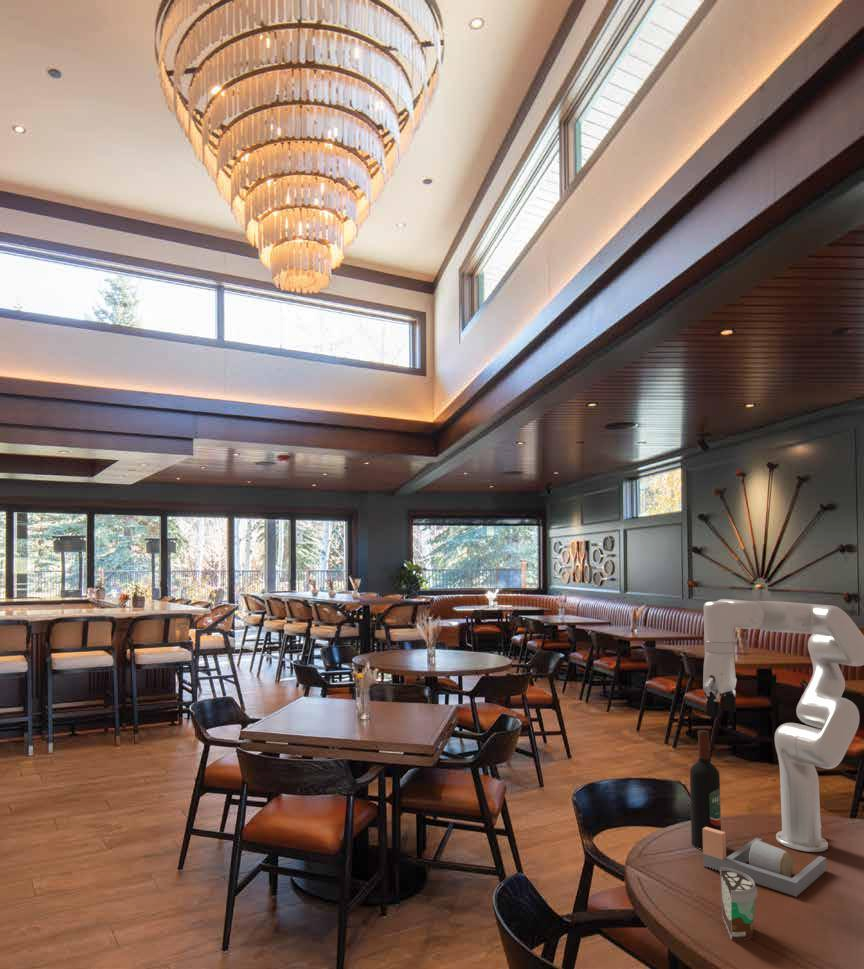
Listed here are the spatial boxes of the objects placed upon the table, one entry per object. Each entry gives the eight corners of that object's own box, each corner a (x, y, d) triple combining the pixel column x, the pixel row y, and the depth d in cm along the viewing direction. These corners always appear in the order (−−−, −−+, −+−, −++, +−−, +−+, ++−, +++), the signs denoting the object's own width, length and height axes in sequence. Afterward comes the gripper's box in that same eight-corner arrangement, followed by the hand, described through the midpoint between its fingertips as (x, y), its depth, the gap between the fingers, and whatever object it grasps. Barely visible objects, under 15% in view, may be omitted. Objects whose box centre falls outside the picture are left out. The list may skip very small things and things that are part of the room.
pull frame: (737, 843, 192) (736, 809, 193) (826, 870, 177) (824, 832, 177) (703, 866, 178) (702, 828, 179) (796, 896, 162) (794, 855, 163)
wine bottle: (696, 837, 197) (693, 726, 200) (724, 844, 192) (721, 730, 195) (688, 846, 191) (685, 731, 194) (717, 853, 186) (714, 736, 189)
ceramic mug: (783, 888, 167) (782, 854, 168) (748, 876, 173) (747, 843, 174) (799, 875, 174) (798, 842, 175) (765, 864, 180) (764, 833, 181)
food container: (766, 947, 141) (764, 894, 142) (733, 943, 143) (731, 891, 144) (751, 917, 153) (749, 868, 154) (721, 914, 155) (719, 865, 156)
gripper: (720, 644, 198) (721, 707, 196) (691, 649, 186) (692, 716, 184) (747, 647, 192) (749, 711, 191) (719, 652, 180) (721, 721, 179)
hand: (721, 714), depth 187 cm, fingers open, 9 cm apart
